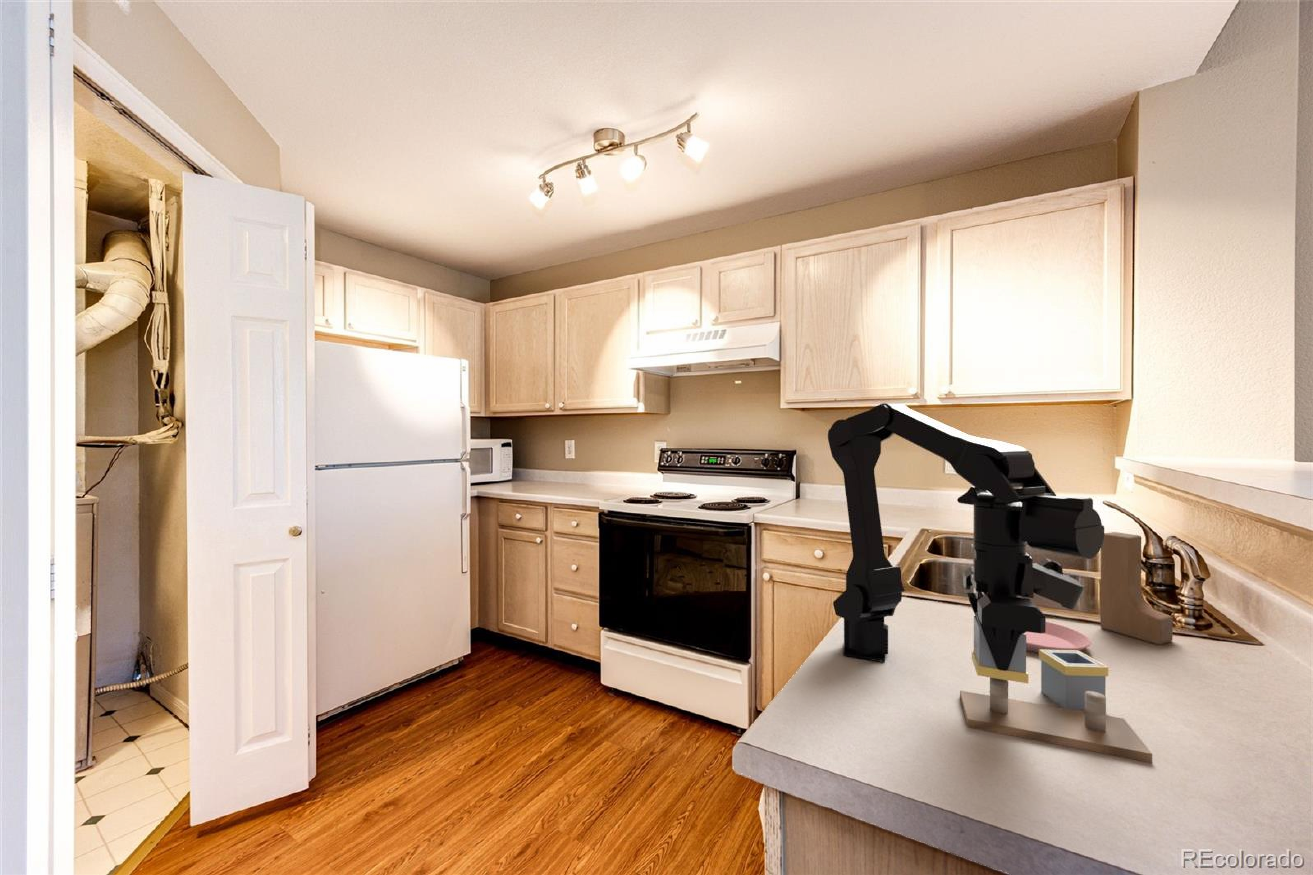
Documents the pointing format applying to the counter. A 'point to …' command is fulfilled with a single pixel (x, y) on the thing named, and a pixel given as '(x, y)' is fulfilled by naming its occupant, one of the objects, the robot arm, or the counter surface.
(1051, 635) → the plate
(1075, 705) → the sleeve band up
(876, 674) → the counter surface
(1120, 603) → the wooden block
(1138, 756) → the pin board
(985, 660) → the sleeve band down
